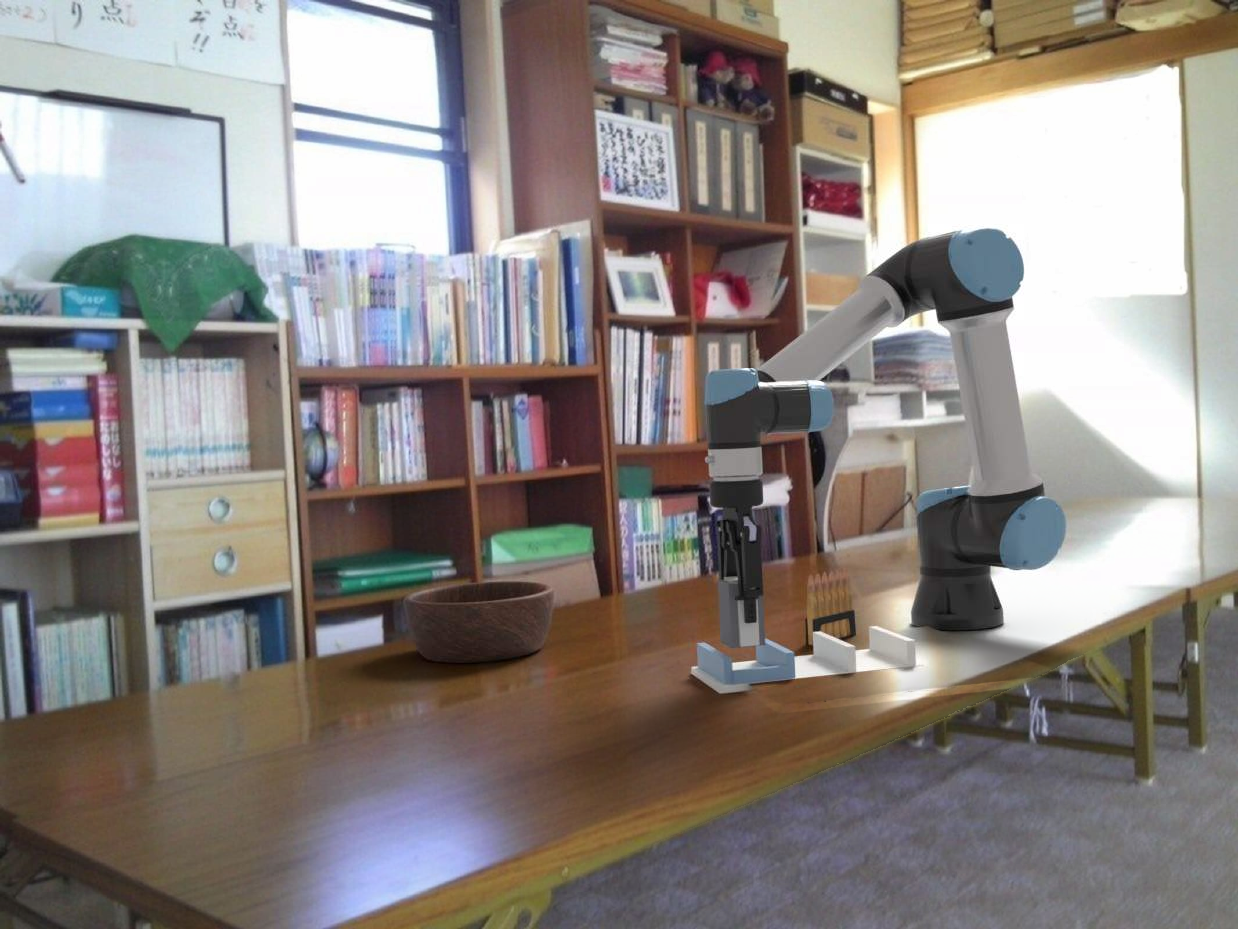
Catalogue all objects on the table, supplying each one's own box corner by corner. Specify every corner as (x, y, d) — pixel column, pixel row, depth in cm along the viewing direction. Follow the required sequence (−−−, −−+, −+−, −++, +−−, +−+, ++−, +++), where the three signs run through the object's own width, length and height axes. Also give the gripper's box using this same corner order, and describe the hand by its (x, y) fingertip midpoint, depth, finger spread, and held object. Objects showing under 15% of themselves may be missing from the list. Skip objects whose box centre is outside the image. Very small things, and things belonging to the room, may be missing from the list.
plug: (753, 639, 180) (751, 574, 180) (765, 645, 175) (762, 578, 175) (720, 642, 179) (717, 577, 179) (731, 648, 174) (728, 581, 174)
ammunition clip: (815, 652, 194) (811, 575, 194) (805, 651, 196) (801, 574, 195) (856, 641, 201) (853, 567, 201) (847, 640, 203) (844, 566, 202)
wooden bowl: (376, 659, 209) (372, 598, 208) (489, 634, 227) (486, 577, 227) (474, 674, 192) (470, 608, 191) (587, 646, 210) (584, 585, 210)
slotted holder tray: (881, 654, 190) (880, 624, 190) (923, 672, 176) (922, 640, 176) (691, 673, 183) (689, 643, 183) (719, 693, 170) (718, 660, 169)
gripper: (692, 477, 184) (699, 634, 185) (729, 482, 167) (737, 655, 168) (740, 474, 186) (747, 629, 187) (782, 479, 168) (790, 650, 169)
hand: (743, 641), depth 177 cm, fingers closed on plug, 5 cm apart
